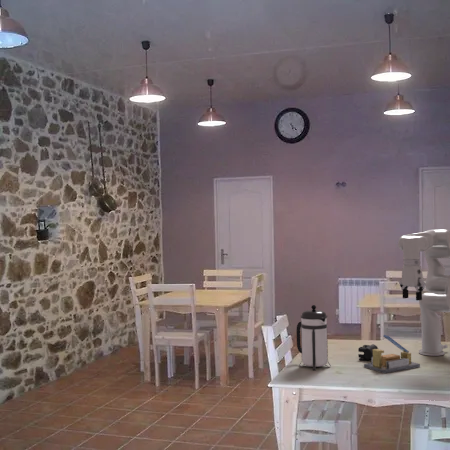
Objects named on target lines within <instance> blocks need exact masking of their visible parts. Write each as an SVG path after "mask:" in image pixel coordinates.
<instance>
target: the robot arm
mask: <svg viewBox="0 0 450 450" xmlns="http://www.w3.org/2000/svg"><path fill="white" fill-rule="evenodd" d="M397 245H398V248H399V250H400V251H402V258H403V261H402V262H403V264H402V270H401V278H400V279H399V280H398V283H399V286H400V288H401V290H402V299H409V289H408V288H410V287H411V288H415V290H416V292H415V300H416V301H418V302H419V303H418V304H419V310H420V319H421V321H420V322H421V349H419V350H418V354H420V355H423V356H430V357H431V356H432V357H437V356H443V355H445V351H444V349H448V345H447V344H442V332H441V331H442V329H441V327H442V325H441V323H442V322H441V317H440V315H438V313H450V274H446V273H445V272H446V268H445V266H444V264H443V263H442V262H441V261H440V260H439V259H450V230H449V229H428V230H426V231H423V232H417V233H409V234H404V235H401V236H400V237H399V239H398V242H397ZM420 252H424V257H425V260H426V263H427V273H426V279H425V281H424V278H423V277H424V275H423V269H422V266H421V265H420V264H421V260H420V259H421V257H420V254H421V253H420ZM424 290H426V291H427V292H424ZM423 292H424V293H423ZM437 312H438V313H437Z"/></svg>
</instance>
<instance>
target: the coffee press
mask: <svg viewBox="0 0 450 450" xmlns="http://www.w3.org/2000/svg"><path fill="white" fill-rule="evenodd" d="M300 319H301V320H300V321H299V322H298V323H297V325H296V348H297V350H298V352H299V353H300V354H301V361H300V363H299V367H300V368H302V367H303V366H306V367H312V371H316V369H317V367H323V366H326V368H331V363H330V362H329V361H328V358H329V356H328V355H329V351H328V350H329V348H328V347H329V345H328V322H327V321H328V320H327V319H328V315H327V313H326V311H324V310H321V309H317V306H316V304H312V305H311V309H307V310H304V311H302V313H301V315H300ZM301 364H303V365H301ZM327 364H328V365H329V366H328V365H327Z"/></svg>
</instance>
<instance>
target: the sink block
mask: <svg viewBox="0 0 450 450" xmlns="http://www.w3.org/2000/svg"><path fill="white" fill-rule="evenodd" d="M384 353H385V350H383V349H379V348H378V349H373V357H372V359H371V362H369V363H364V364H363V368H364V369H369V370H372V371H374V372H378V373H381V374H389V373H394V372H400V371H406V370H413V369H416V368H420V367H421V365H420V363H418V362H414V361H412V353H411V352H409V353H406V352H403V351H401V352H400V355H399V354H395V353H389V354H384Z"/></svg>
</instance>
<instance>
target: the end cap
mask: <svg viewBox="0 0 450 450" xmlns="http://www.w3.org/2000/svg"><path fill="white" fill-rule="evenodd" d="M373 349H379V348H378V345H376V344H370V345H369V344H364V345H362V346H359V347H358V358H359V359H358V360H359V361H361V362H363V361H365V362H368V361H370V360H372V357H373ZM359 352H360V353H361V354H360V353H359ZM362 353H363V354H362Z"/></svg>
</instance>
